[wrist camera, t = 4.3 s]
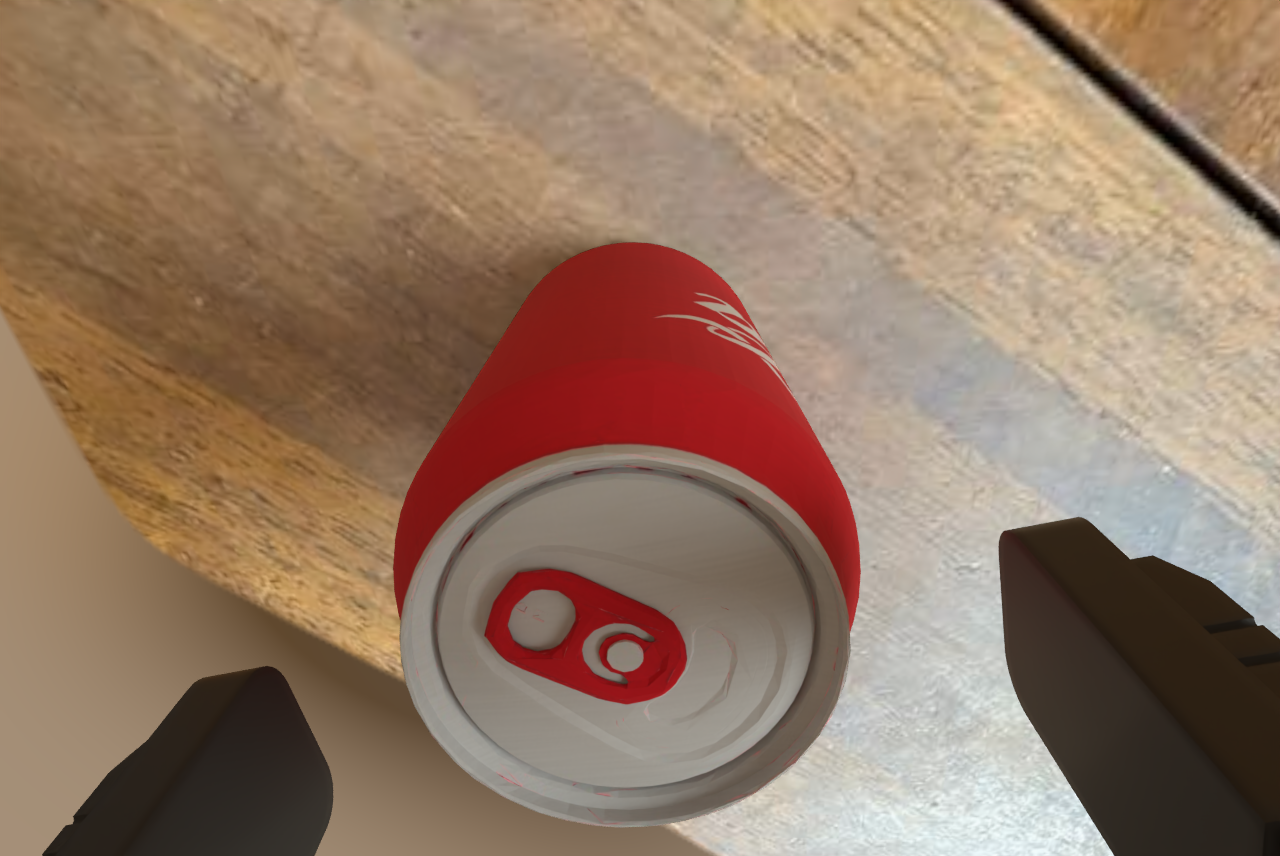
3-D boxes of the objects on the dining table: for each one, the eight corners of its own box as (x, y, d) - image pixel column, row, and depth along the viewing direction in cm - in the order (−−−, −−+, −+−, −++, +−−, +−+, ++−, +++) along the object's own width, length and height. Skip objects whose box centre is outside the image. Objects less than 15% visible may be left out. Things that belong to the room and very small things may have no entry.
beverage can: (682, 505, 22) (725, 920, 10) (474, 409, 21) (277, 756, 9) (800, 307, 20) (1011, 560, 8) (576, 189, 19) (478, 300, 7)
